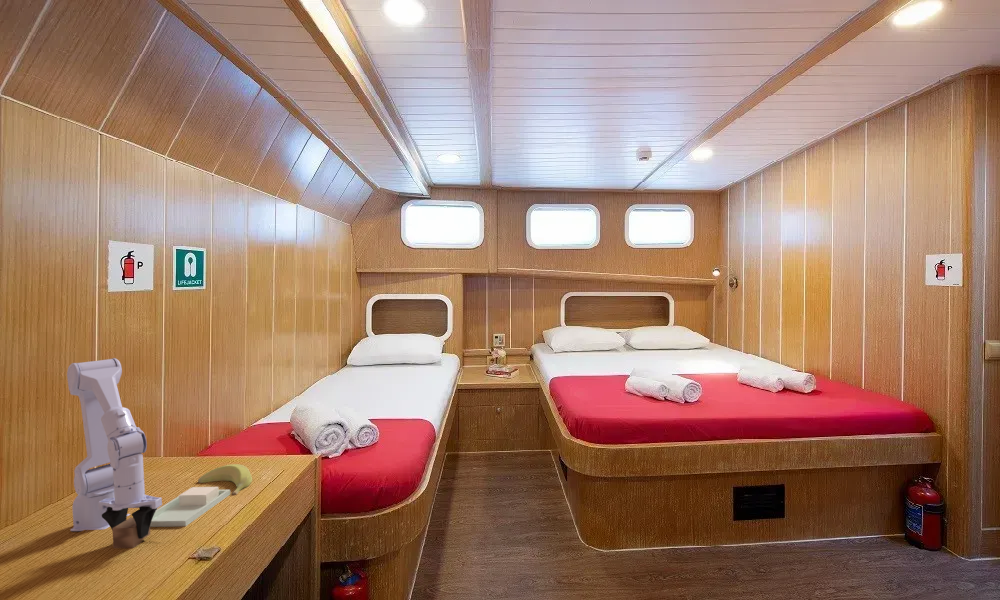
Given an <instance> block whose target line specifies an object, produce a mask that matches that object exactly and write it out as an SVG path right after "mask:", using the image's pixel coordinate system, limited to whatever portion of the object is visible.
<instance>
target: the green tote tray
mask: <svg viewBox="0 0 1000 600" xmlns="http://www.w3.org/2000/svg"><path fill="white" fill-rule="evenodd" d="M218 490H219V496H218V497H216V498H215V499H213V500H212V501H210V502H209V503H208V504H206V505H193V506H179V495H178V496H176V497H175V498H173V499H172V500H170V501H168V502H167V503H166V504H164V505H163V504H162V505H161V506H160V507H158V508H157V510H156V512H155V514H154V516H153V518H152V521H151V524H150V528H157V527H163V528H164V527H165V528H167V527H169V528H170V527H171V528H172V527H175V528H176V527H188V526H189V525H190V524H191V523H193V522H194V521H195V520H197V519H198V518H200V517H202V515H204V514H205V513H207V512H208V511H209V510H211V509H212V508H213V507H215V506H216V505H218V504H219V503H220V502H222V501H223V500H224V499H226V498H228V497H229V496H230V495H231V489H218Z"/></svg>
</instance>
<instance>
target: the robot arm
mask: <svg viewBox="0 0 1000 600" xmlns="http://www.w3.org/2000/svg"><path fill="white" fill-rule="evenodd" d="M122 374H123V369H122V363H121V361H120V360H119V359H117V358H116V357H114V358H108V359H101V360H99V359H98V360H93V361H92V360H91V361H85V362H84V361H83V362H71V364H69V366H68V368H67V372H66V377H67V378H66V379H67V385H68V391H69V394H70V395H71V396H78V399H79V402H80V408H81V409H80V410H81V417H82V422H83V433H84V440H85V447H86V457H85V458H84V459H83V460H82V461H80V463H78V464H77V465H76V466H75V468H74V470H73V472H74V478H73V487H74V490H75V493H76V494H77V496H76V497H75V498H74V500H73V503H72V521H73V523H72V524H73V527H72V528H70V532H83V531H84V530H85V531H88V530H89V531H90V530H91V531H92V530H94V531H97V530H98V531H99V530H102V531H103V530H106V529H108V528H110V529H111V531H112V532H113V530H112V528H114V527H115V526H117V525H119V524H120V523H122V522H124V521H126V520H127V519H128V518H127V517H128V516H130V515H131V516H132V518H134V520H135V522H136V526H137V534H138V538H139V539H141V538H143V537H145V536H146V535H148V532H149V528H150V529H151V527H150V524H151V521H152V518H153V516H154V514H155V512H156V510H157V509H159V508H160V507H162V506H163V501H162V500H163V499H162V497H157V496H153V495H148V494H146V493H145V473H144V470H145V469H144V455H143V454H144V453H146V451H147V450H148V449H147V448H148V442H147V441H148V440H147V437H146V434H145V432H144V431H143V430H142V429H141V427H139V426H138V427H137V425H136V423H135V420H134V418H133V416H132V413H131V410H130V409H129V408H127V407H124V406H123V405H122V401H121V397H120V392H119V389H118V384H119V382H120V380H121V377H122ZM129 509H137V510H136V511H134V512H131V513H128V511H129ZM148 536H149V535H148ZM145 538H146V537H145Z"/></svg>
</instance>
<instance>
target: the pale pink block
mask: <svg viewBox="0 0 1000 600" xmlns="http://www.w3.org/2000/svg"><path fill="white" fill-rule="evenodd" d="M219 490H220V489H219V486H193V487H190V488H189V489H187V490H185V491H184V492H181V493H180V494H178V496H179V506H193V505H206V504H208V503H209V502H210V501H212V500H213V499H215V498H216V497H218V496H219Z"/></svg>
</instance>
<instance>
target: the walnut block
mask: <svg viewBox="0 0 1000 600" xmlns="http://www.w3.org/2000/svg"><path fill="white" fill-rule="evenodd" d="M112 530H113V531H112ZM111 531H112V544H113V549H134V548H136V547H138V546H139V545H140V544H142V543H144V542H145V541H146V540H145V539H146V538H148V537H149V536H150V535H151V527H150V528H149V532H148V535H146V536H145V537H143V538H141V539H139V538H138V534H137V526H136V522H135V520H134V518H133V517H129V518H126V521H124V522H122V523H120V524H119V525H117V526H115V527H114V528H112V529H111Z"/></svg>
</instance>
